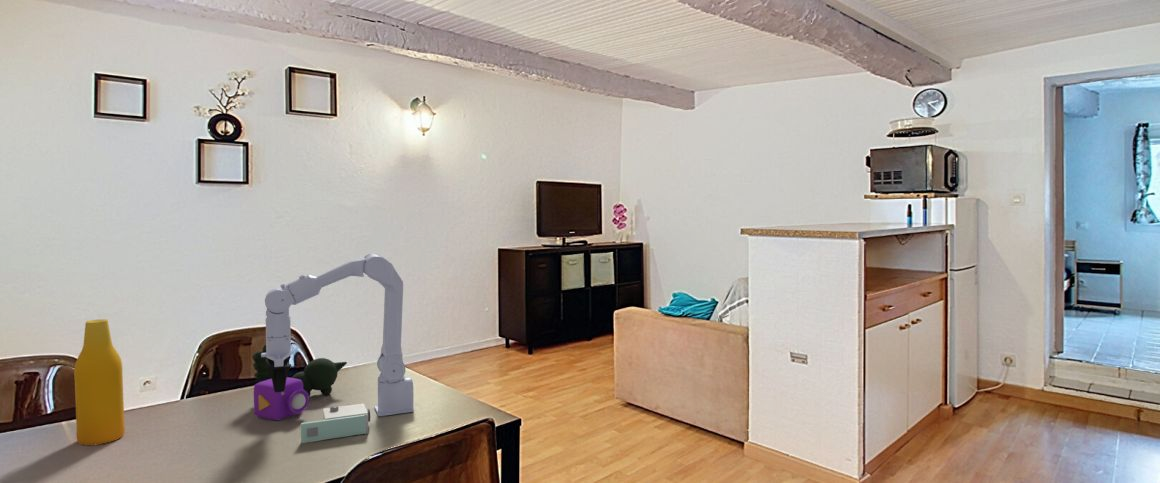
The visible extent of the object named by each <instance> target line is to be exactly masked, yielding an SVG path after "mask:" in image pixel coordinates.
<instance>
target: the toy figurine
mask: <svg viewBox="0 0 1160 483" xmlns="http://www.w3.org/2000/svg"><path fill="white" fill-rule="evenodd" d="M261 353H266V344H265V345H264V346H263V348H262V350H259V351H256V352H255V353H254V354H252V356H251V357H252V360H253V361H254V362H253V365H252V367H253V369H254V370H255V371H256V372H255V373H254V378H255V380H256V381H259V382H262V381H265V380H269V379H272V378H271V376H270V374H269V372H268V370H267V368H266V366H267V365H270V364H269V362H268V360H267V357H261ZM347 364H348V362H347V361H340V362H334V361H333V360H330V359H328V358H325V357H320V358H315V359H313V360H311V361H310V362H308V363H307V364H306V366H305V367H304V369H303V371H299V372H297V373H295V374H293V375H292V376H291V378H295V379H300V380H302V382H303V390H305V391H306V392H307V393H308V395H309V398H310V396H311V392H312V391H319V392H320V393H321V394H322V395H324V396H327V395H330V394H331V393H332V391H333V388H332V386H333V385H335V382H336V380H337V378H338V373H339V371H340V370H341V369H342V368H344V367H345V366H346V365H347Z"/></svg>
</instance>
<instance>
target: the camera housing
mask: <svg viewBox="0 0 1160 483" xmlns="http://www.w3.org/2000/svg"><path fill="white" fill-rule="evenodd" d="M322 413H323V414H322V417H323V418H322V420H328V419H336V418H343V417H350V416H358V415H364V414H368V423H370V422H371V410H370V409H369V408H366V404H365V403H363V402H362V403H357V404H349V405H348V404H347V405H340V406H338V405H333V406H330V407H325V408H323V409H322Z"/></svg>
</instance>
